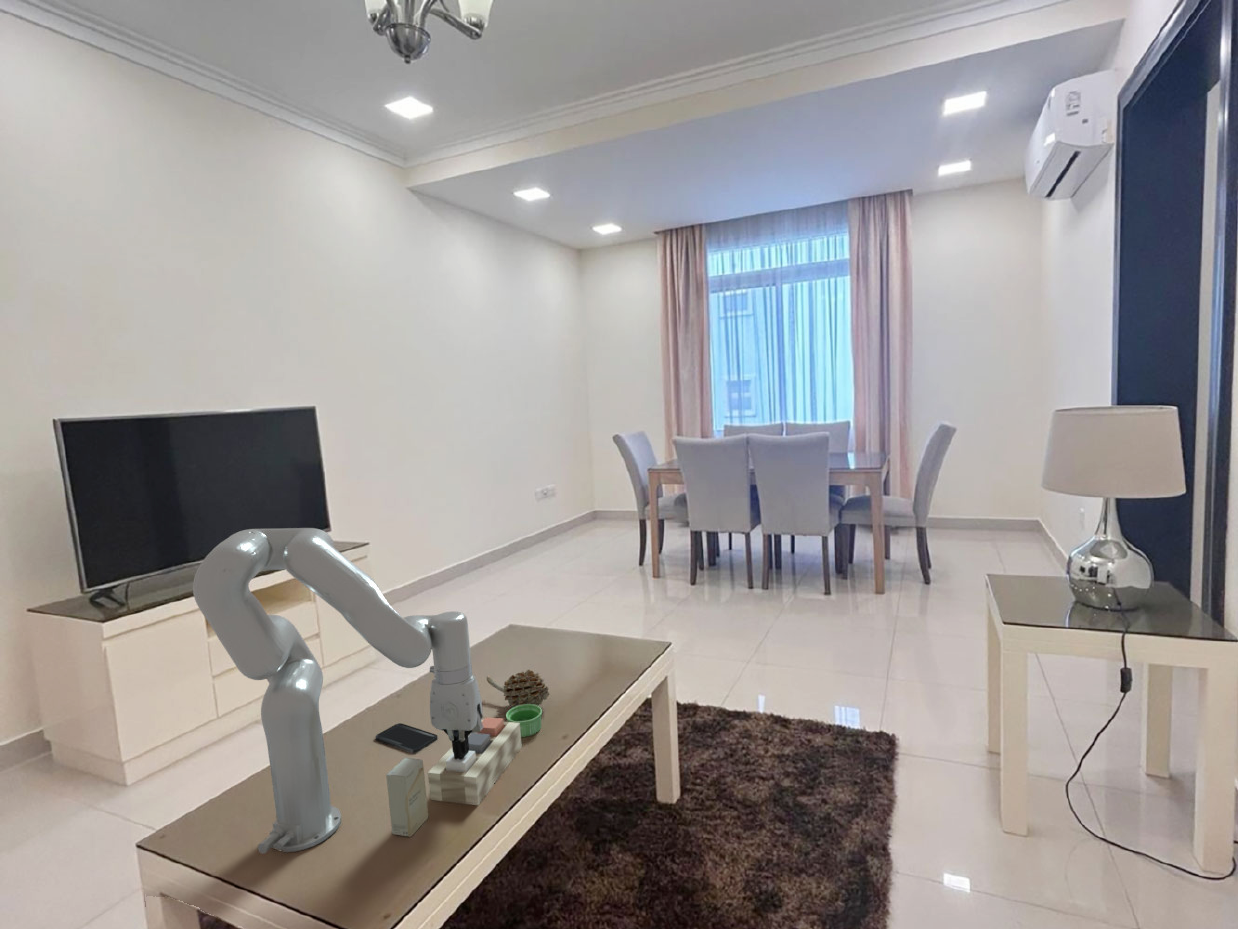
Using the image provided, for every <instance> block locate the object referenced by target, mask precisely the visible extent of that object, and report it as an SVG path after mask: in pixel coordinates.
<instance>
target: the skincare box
mask: <svg viewBox="0 0 1238 929" xmlns="http://www.w3.org/2000/svg"><path fill="white" fill-rule="evenodd" d="M424 767H425V766H424V760H423V759H420V758H412V757H404V758H403V759H402V760H401V761H400V762H398V763H397V764H396V765H395V766H394V767H393V768H392V769H391V770H389V771H388V772H387V774H386V775H385V776H386V785H387V794H388V805H389V814H390V824H391V825H390V826H391V834H392V835H398V836H403V837H412V836H413V835H414V834H415V833H416V832H417V831H418V830H419V828H420V827H422V826H423V824H424V823H425V822H426V821H427V820H428V818H429V808H428V799H427V798H428V797H427V789H426V779H425V777H426V776H425V768H424Z"/></svg>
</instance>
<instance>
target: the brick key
mask: <svg viewBox="0 0 1238 929" xmlns="http://www.w3.org/2000/svg"><path fill="white" fill-rule="evenodd" d="M504 719H505V718H500V717H499V718H497V717H485V718H483V719H482V720H483V721H482V724H483V729H482V730H481V731H480V732H478V733H481V734H490V736H491V737H497V736H498V735H499V734H500V732H501V731H502V730H503V729H504V722H505V721H504Z"/></svg>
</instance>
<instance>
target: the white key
mask: <svg viewBox="0 0 1238 929" xmlns="http://www.w3.org/2000/svg"><path fill="white" fill-rule="evenodd" d="M475 762H476V754H475V751H469V752H468V753H467V754H466V756H465V757H464V758H463V759H462V760H459V759H454V753H453V754H452V755H451V756H450V757H449V758H448V759H447V760H446V771H455V772H464V773H467V772H468V771H469V769H470V768H471V767H472V766H473V765H474V763H475Z"/></svg>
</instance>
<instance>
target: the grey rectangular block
mask: <svg viewBox="0 0 1238 929" xmlns="http://www.w3.org/2000/svg"><path fill="white" fill-rule="evenodd" d="M468 741H469V751H475V753H477V754H483V753H484V751H485V750H486V749H487V748H488V747H489V746H490V744H491V740H490V734H481V733H471V734H470V735H469V736H468Z"/></svg>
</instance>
